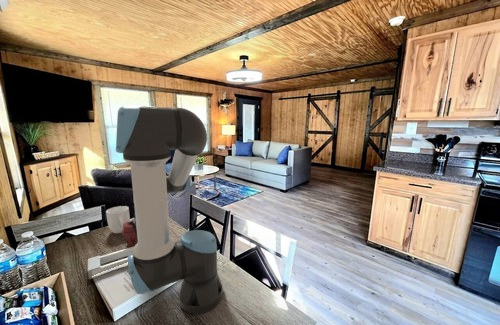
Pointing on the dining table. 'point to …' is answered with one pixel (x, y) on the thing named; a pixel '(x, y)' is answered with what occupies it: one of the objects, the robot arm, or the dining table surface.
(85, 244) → the dining table surface
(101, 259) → the white slotted console
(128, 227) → the mechanical component
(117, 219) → the mug
